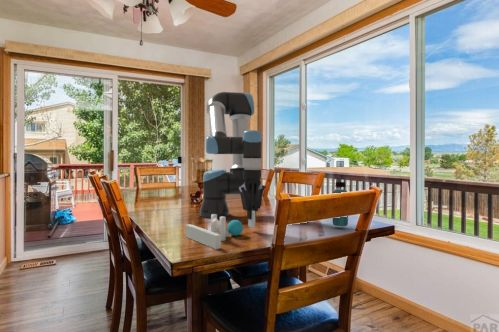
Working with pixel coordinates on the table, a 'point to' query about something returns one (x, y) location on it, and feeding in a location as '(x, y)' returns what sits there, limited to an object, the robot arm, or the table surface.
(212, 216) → the pin
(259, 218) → the table surface
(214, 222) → the front pin
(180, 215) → the table surface
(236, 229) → the ball
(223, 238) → the pin
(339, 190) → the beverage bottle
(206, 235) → the back stop
